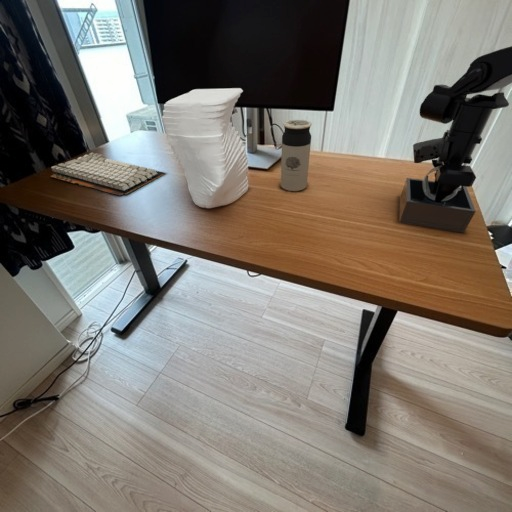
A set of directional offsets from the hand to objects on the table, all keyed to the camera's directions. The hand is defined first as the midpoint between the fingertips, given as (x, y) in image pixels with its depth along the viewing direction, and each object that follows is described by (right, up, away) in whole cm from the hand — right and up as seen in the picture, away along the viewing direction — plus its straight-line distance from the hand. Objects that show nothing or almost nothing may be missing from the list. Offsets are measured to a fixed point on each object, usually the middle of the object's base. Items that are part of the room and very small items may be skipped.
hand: (436, 197), depth 66 cm
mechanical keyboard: (-96, +14, +29) cm, 102 cm away
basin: (0, -3, +3) cm, 5 cm away
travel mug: (-32, +7, +18) cm, 38 cm away
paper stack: (-57, +3, +14) cm, 59 cm away
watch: (0, -3, +3) cm, 4 cm away
